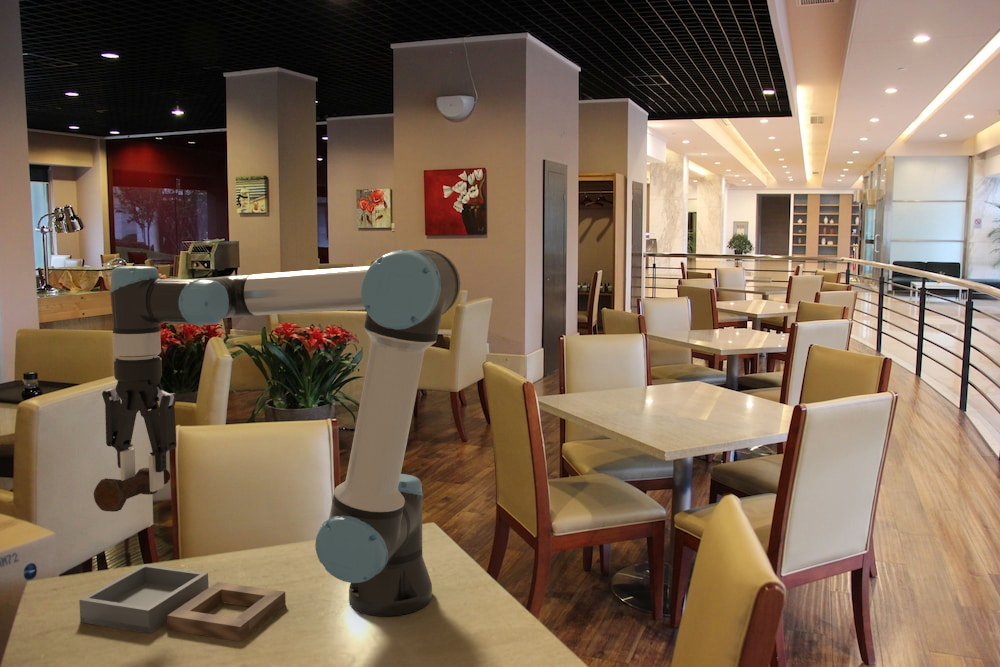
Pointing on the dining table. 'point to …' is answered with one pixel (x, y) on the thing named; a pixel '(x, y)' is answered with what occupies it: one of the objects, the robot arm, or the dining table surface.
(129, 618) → the tray
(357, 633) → the dining table surface
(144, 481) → the bolt
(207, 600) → the rectangular frame
